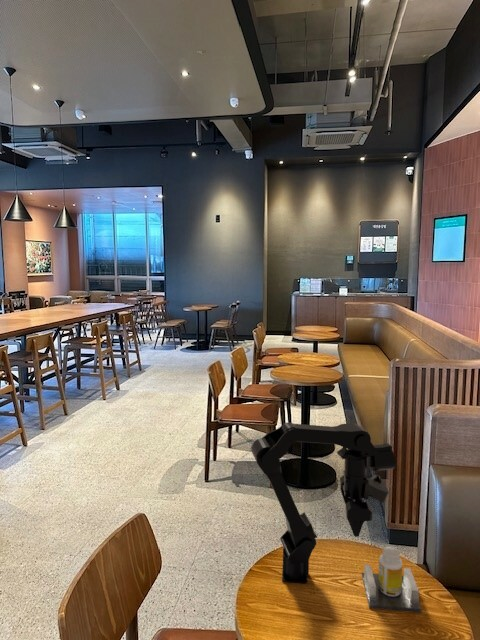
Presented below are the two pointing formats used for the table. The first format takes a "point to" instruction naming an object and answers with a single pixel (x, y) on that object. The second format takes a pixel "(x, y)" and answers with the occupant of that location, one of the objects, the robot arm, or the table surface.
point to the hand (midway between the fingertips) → (353, 526)
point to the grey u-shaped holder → (398, 603)
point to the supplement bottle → (390, 572)
